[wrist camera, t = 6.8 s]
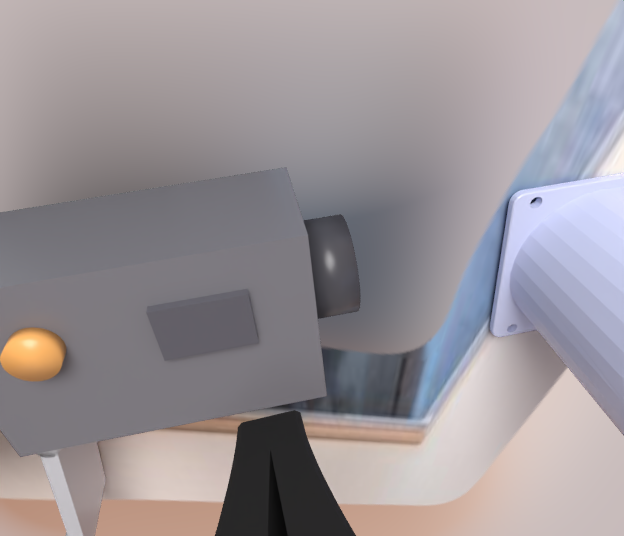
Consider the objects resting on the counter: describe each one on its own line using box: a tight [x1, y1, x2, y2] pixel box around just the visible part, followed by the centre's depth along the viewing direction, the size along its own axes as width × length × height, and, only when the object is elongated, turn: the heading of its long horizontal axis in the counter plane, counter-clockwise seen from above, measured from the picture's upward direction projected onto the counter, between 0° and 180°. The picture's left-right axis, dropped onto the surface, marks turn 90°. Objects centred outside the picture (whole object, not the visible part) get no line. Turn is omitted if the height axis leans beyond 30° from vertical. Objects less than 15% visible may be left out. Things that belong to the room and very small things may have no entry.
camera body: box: [0, 167, 360, 457], centre depth 17 cm, size 13×7×6 cm, turn 96°
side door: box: [38, 442, 106, 536], centre depth 22 cm, size 8×1×4 cm, turn 175°
